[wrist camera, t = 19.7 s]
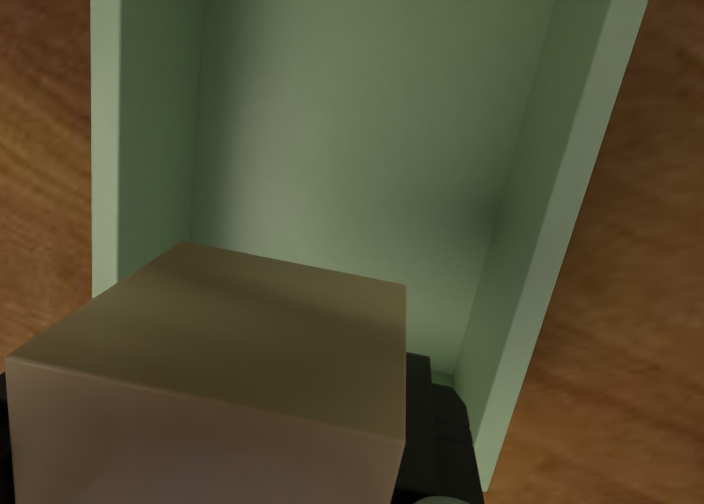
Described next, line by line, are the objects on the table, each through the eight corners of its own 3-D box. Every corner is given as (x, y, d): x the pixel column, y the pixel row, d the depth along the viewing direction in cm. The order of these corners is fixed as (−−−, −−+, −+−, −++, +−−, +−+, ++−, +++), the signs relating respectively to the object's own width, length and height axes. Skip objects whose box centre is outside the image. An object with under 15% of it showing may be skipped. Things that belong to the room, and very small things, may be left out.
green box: (465, 385, 20) (487, 492, 15) (174, 325, 21) (91, 407, 15) (585, -35, 15) (684, -106, 10) (197, -98, 16) (87, -198, 10)
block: (171, 426, 11) (22, 635, 7) (181, 239, 10) (1, 356, 5) (366, 469, 11) (339, 711, 7) (407, 283, 9) (406, 442, 5)
